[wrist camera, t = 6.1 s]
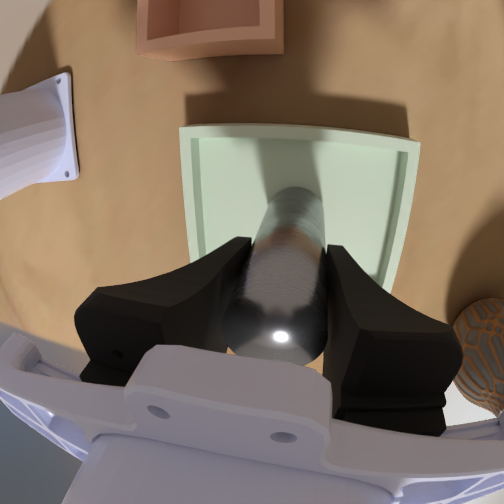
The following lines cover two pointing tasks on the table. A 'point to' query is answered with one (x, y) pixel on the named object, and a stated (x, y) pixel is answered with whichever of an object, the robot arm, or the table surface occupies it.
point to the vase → (482, 354)
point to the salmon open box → (208, 28)
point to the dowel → (282, 284)
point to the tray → (300, 185)
